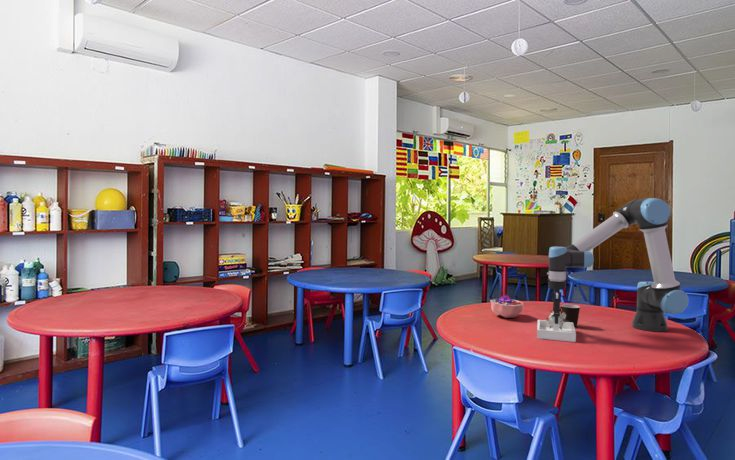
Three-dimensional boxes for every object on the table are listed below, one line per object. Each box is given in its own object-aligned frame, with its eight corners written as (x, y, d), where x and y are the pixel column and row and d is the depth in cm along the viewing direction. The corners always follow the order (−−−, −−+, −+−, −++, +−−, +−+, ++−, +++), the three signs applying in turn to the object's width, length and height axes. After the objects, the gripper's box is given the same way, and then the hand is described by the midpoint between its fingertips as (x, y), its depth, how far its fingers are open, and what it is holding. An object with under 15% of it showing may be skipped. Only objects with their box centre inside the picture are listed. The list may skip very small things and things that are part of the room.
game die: (558, 335, 227) (571, 319, 228) (557, 333, 220) (570, 316, 220) (542, 324, 232) (554, 307, 232) (540, 321, 225) (553, 304, 225)
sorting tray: (572, 330, 234) (573, 322, 233) (575, 342, 214) (575, 333, 214) (537, 327, 239) (537, 319, 239) (537, 338, 219) (537, 329, 219)
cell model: (492, 320, 254) (493, 299, 253) (488, 312, 274) (488, 292, 273) (526, 321, 252) (526, 300, 251) (519, 313, 272) (519, 293, 271)
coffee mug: (581, 328, 238) (581, 308, 238) (562, 327, 240) (563, 307, 239) (576, 323, 249) (576, 303, 249) (558, 322, 251) (558, 302, 251)
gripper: (548, 276, 237) (547, 322, 238) (548, 283, 216) (547, 333, 217) (564, 277, 234) (563, 323, 235) (566, 284, 213) (565, 334, 214)
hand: (555, 328), depth 226 cm, fingers closed on game die, 10 cm apart
